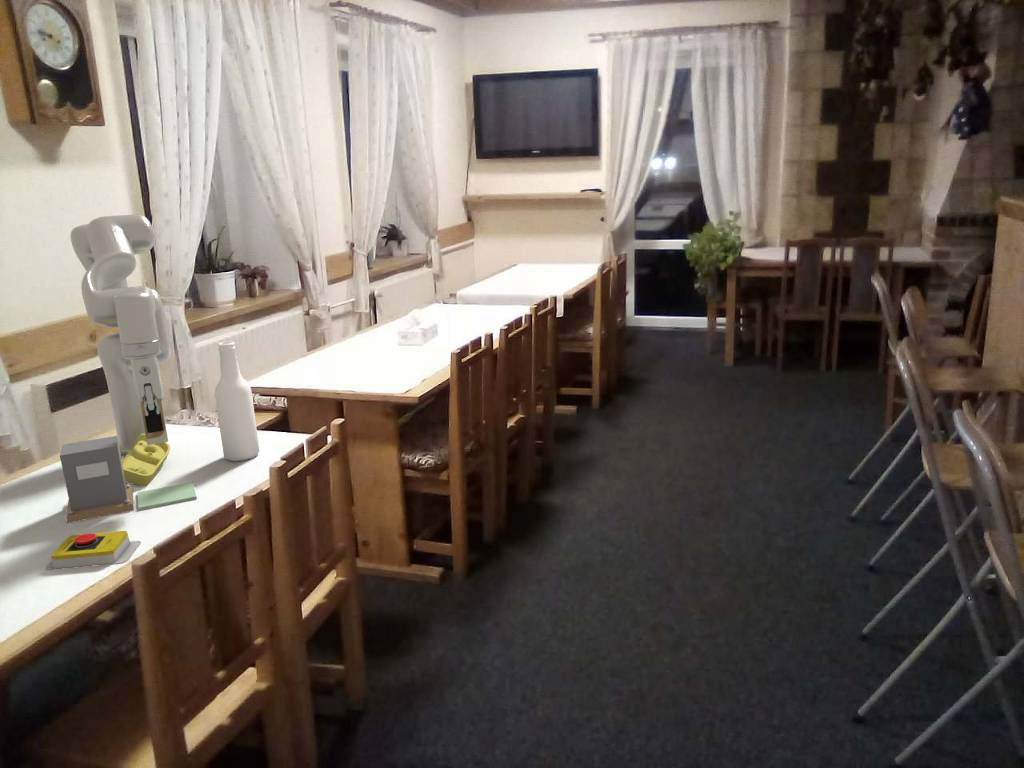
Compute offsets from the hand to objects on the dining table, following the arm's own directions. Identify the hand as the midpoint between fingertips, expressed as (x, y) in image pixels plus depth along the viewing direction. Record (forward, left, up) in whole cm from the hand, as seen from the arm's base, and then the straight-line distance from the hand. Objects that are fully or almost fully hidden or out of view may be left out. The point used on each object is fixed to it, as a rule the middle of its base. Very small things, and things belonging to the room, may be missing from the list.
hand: (154, 426), depth 177 cm
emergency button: (+24, -14, -18) cm, 33 cm away
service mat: (0, 0, -17) cm, 17 cm away
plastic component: (-20, -5, -17) cm, 27 cm away
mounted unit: (-2, -13, -17) cm, 22 cm away
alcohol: (-19, +19, -17) cm, 32 cm away
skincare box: (0, 0, -3) cm, 3 cm away
